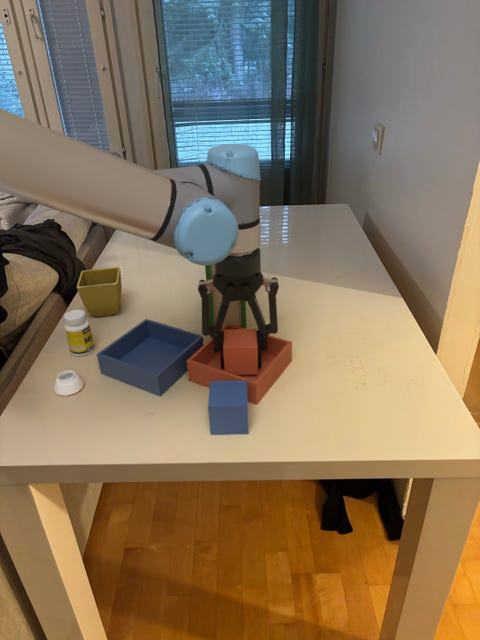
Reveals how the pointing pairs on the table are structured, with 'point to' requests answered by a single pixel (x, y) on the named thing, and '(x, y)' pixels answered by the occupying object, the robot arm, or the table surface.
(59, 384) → the lidless jar
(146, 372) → the slate bin
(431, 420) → the table surface
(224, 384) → the slate block
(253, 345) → the rust block
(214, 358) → the rust bin
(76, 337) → the supplement bottle
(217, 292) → the hardback book
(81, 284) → the flower pot
